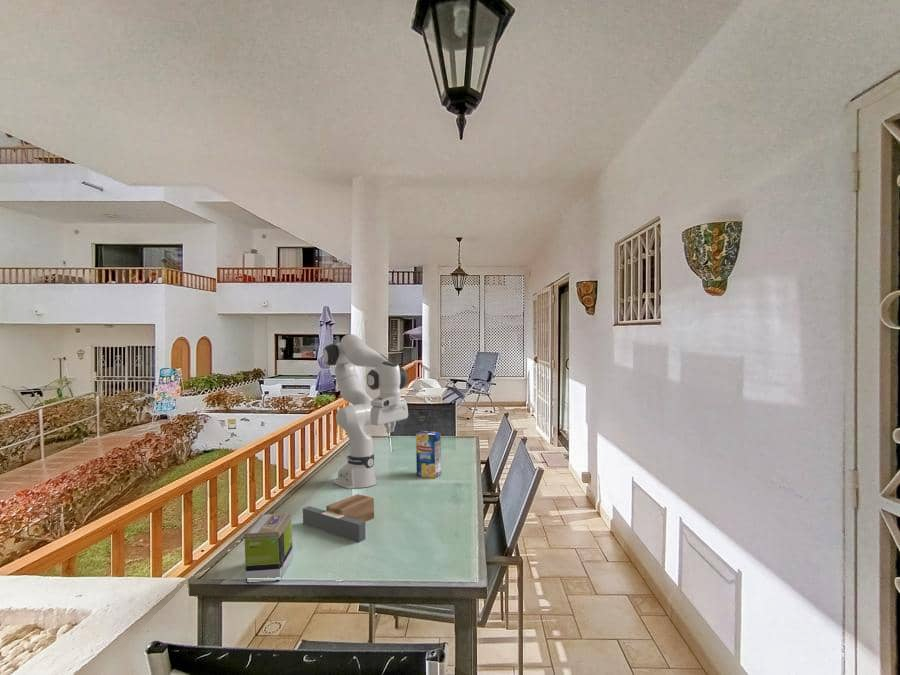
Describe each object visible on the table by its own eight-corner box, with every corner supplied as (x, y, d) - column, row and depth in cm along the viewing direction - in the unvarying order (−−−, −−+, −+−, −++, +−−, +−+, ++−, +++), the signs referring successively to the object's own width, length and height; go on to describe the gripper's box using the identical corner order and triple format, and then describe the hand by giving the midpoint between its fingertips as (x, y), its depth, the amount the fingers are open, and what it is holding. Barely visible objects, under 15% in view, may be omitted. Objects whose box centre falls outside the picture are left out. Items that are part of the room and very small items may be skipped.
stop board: (302, 524, 175) (302, 508, 175) (309, 521, 178) (309, 505, 178) (359, 542, 158) (359, 524, 158) (365, 538, 161) (365, 521, 161)
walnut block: (326, 527, 172) (326, 506, 172) (357, 513, 185) (357, 494, 186) (343, 532, 167) (342, 510, 167) (374, 518, 180) (373, 498, 180)
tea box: (261, 559, 147) (260, 513, 147) (293, 557, 148) (293, 511, 148) (244, 584, 132) (243, 532, 132) (280, 582, 133) (279, 530, 133)
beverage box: (435, 478, 231) (434, 434, 232) (416, 476, 236) (415, 433, 237) (441, 474, 237) (440, 432, 238) (423, 472, 242) (422, 430, 243)
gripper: (400, 396, 205) (400, 427, 206) (367, 402, 189) (367, 435, 189) (411, 397, 202) (411, 429, 202) (379, 403, 185) (379, 437, 185)
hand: (390, 432), depth 195 cm, fingers closed
